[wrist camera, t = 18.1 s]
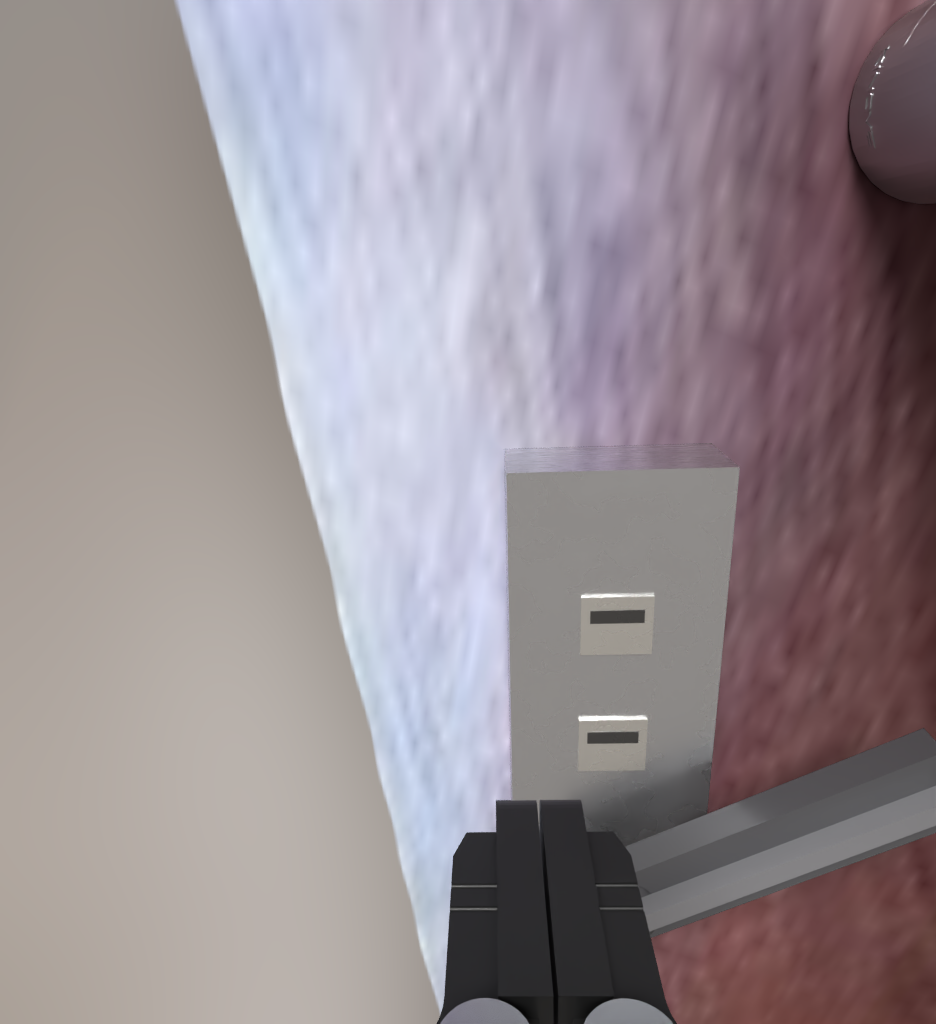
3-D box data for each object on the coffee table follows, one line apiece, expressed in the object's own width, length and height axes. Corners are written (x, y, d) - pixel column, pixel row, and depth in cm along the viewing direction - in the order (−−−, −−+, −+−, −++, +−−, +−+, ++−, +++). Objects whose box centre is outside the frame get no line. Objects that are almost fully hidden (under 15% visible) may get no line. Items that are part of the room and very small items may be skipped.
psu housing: (711, 443, 42) (751, 476, 35) (680, 826, 51) (707, 907, 45) (504, 448, 42) (507, 482, 36) (511, 827, 52) (514, 907, 45)
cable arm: (950, 793, 41) (987, 835, 38) (593, 928, 45) (600, 976, 42) (923, 728, 40) (959, 767, 37) (557, 873, 44) (562, 918, 41)
